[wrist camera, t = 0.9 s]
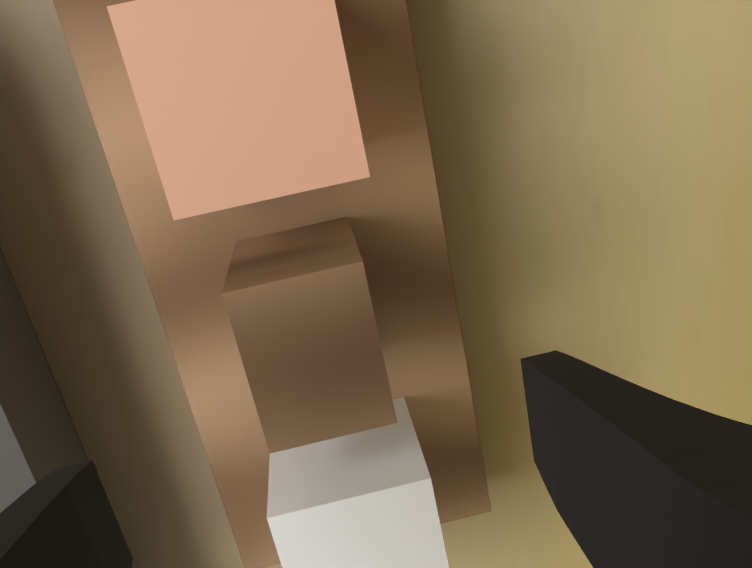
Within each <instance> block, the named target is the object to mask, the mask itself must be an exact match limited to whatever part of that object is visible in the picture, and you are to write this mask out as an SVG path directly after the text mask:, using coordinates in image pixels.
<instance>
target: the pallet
mask: <svg viewBox="0 0 752 568" xmlns="http://www.w3.org/2000/svg"><path fill="white" fill-rule="evenodd" d="M130 1H135V0H53V2H54V5H55V8H56V11H57V14H58V17H59V20H60V23H61V26H62V29H63V32H64V35H65V37H66V40H67V43H68V46H69V49H70V52H71V55H72V58H73V61H74V64H75V67H76V70H77V73H78V76H79V79H80V82H81V85H82V88H83V91H84V94H85V97H86V100H87V103H88V106H89V108H90V111H91V114H92V117H93V120H94V123H95V126H96V129H97V132H98V135H99V138H100V141H101V144H102V147H103V150H104V153H105V156H106V159H107V162H108V165H109V168H110V171H111V174H112V176H113V179H114V182H115V185H116V188H117V191H118V194H119V197H120V200H121V203H122V206H123V209H124V212H125V215H126V218H127V221H128V224H129V227H130V230H131V233H132V236H133V239H134V242H135V245H136V247H137V250H138V253H139V256H140V259H141V262H142V265H143V268H144V271H145V274H146V277H147V280H148V283H149V286H150V289H151V292H152V295H153V298H154V301H155V304H156V307H157V310H158V313H159V315H160V318H161V321H162V324H163V327H164V330H165V333H166V336H167V339H168V342H169V345H170V348H171V351H172V354H173V357H174V360H175V363H176V366H177V369H178V372H179V375H180V378H181V381H182V384H183V386H184V389H185V392H186V395H187V398H188V401H189V404H190V407H191V410H192V413H193V416H194V419H195V422H196V425H197V428H198V431H199V434H200V437H201V440H202V443H203V446H204V449H205V452H206V454H207V457H208V460H209V463H210V466H211V469H212V472H213V475H214V478H215V481H216V484H217V487H218V490H219V493H220V496H221V499H222V502H223V505H224V508H225V511H226V514H227V517H228V520H229V523H230V525H231V528H232V531H233V534H234V537H235V540H236V543H237V546H238V549H239V552H240V555H241V558H242V561H243V564H244V567H245V568H264V567H268V566H272V565H276V564H280V563H281V562H280V559H279V556H278V553H277V549H276V546H275V543H274V540H273V537H272V533H271V530H270V527H269V524H268V521H267V503H268V480H269V457H270V454H271V453H275V452H279V451H283V450H287V449H291V448H296V447H300V446H304V445H308V444H312V443H316V442H320V441H325V440H329V439H333V438H337V437H341V436H345V435H350V434H354V433H358V432H362V431H366V430H370V429H375V428H379V427H383V426H387V425H391V424H395V423H398V422H397V418H396V413H395V408H394V404H393V399H397V398H401V397H404V399H405V402H406V405H407V408H408V411H409V414H410V417H411V420H412V423H413V426H414V429H415V432H416V435H417V438H418V441H419V444H420V447H421V450H422V453H423V456H424V459H425V462H426V465H427V468H428V471H429V474H430V477H431V481H432V486H433V491H434V496H435V501H436V506H437V511H438V516H439V521H440V524H441V523H445V522H449V521H453V520H457V519H461V518H465V517H469V516H473V515H477V514H481V513H485V512H489V511H491V507H490V501H489V495H488V489H487V484H486V478H485V472H484V466H483V460H482V454H481V448H480V442H479V436H478V430H477V424H476V418H475V412H474V406H473V400H472V394H471V388H470V382H469V376H468V370H467V364H466V358H465V352H464V346H463V340H462V334H461V328H460V322H459V316H458V310H457V304H456V298H455V292H454V286H453V280H452V274H451V268H450V262H449V256H448V250H447V244H446V238H445V232H444V226H443V220H442V214H441V208H440V202H439V196H438V190H437V184H436V178H435V172H434V166H433V160H432V154H431V148H430V142H429V136H428V130H427V124H426V118H425V112H424V106H423V101H422V95H421V89H420V83H419V77H418V71H417V65H416V59H415V53H414V47H413V41H412V35H411V29H410V23H409V17H408V11H407V5H406V0H335V5H336V10H337V15H338V20H339V25H340V30H341V35H342V40H343V45H344V50H345V55H346V60H347V65H348V69H349V74H350V79H351V84H352V89H353V94H354V99H355V104H356V109H357V114H358V119H359V124H360V129H361V134H362V139H363V144H364V149H365V154H366V159H367V164H368V169H369V174H370V177H368V178H363V179H359V180H354V181H350V182H345V183H341V184H336V185H332V186H327V187H323V188H318V189H314V190H309V191H305V192H300V193H296V194H291V195H287V196H282V197H278V198H273V199H269V200H264V201H259V202H255V203H250V204H246V205H241V206H237V207H232V208H228V209H223V210H219V211H214V212H210V213H205V214H201V215H196V216H192V217H187V218H183V219H178V220H173V217H172V214H171V211H170V207H169V204H168V201H167V198H166V195H165V192H164V188H163V185H162V182H161V179H160V176H159V172H158V169H157V166H156V163H155V160H154V156H153V153H152V150H151V147H150V144H149V140H148V137H147V134H146V131H145V128H144V124H143V121H142V118H141V115H140V112H139V108H138V105H137V102H136V99H135V96H134V92H133V89H132V86H131V83H130V80H129V76H128V73H127V70H126V67H125V64H124V60H123V57H122V54H121V51H120V48H119V44H118V41H117V38H116V35H115V32H114V28H113V25H112V22H111V19H110V16H109V12H108V9H107V6H111V5H116V4H121V3H125V2H130Z"/></svg>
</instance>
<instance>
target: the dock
mask: <svg viewBox="0 0 752 568" xmlns="http://www.w3.org/2000/svg"><path fill="white" fill-rule="evenodd" d="M84 462H88V460H87V457H86V455H85V453H84V450H83V448H82V445H81V443H80V440H79V438H78V436H77V433H76V431H75V428H74V426H73V424H72V421H71V419H70V416H69V414H68V411H67V409H66V407H65V404H64V402H63V399H62V397H61V394H60V392H59V390H58V387H57V385H56V382H55V380H54V378H53V375H52V373H51V370H50V368H49V365H48V363H47V361H46V358H45V356H44V353H43V351H42V348H41V346H40V344H39V341H38V339H37V336H36V334H35V332H34V329H33V327H32V324H31V322H30V319H29V317H28V315H27V312H26V310H25V307H24V305H23V302H22V300H21V298H20V295H19V293H18V290H17V288H16V286H15V283H14V281H13V278H12V276H11V273H10V271H9V269H8V266H7V264H6V261H5V259H4V256H3V254H2V252H1V249H0V513H1V512H2V511H3V510H5V509H6V508H7V507H8V506H9V505H10V504H12V503H13V502H14V501H15V500H16V499H17V498H19V497H20V496H21V495H22V494H23V493H24V492H26V491H27V490H28V489H29V488H30V487H32V486H33V485H34V484H35V483H37V482H38V481H39V480H41V479H42V478H43V477H45V476H46V475H47V474H49V473H50V472H52V471H53V470H55V469H58V468H63V467H67V466H71V465H75V464H80V463H84Z"/></svg>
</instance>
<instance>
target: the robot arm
mask: <svg viewBox="0 0 752 568" xmlns="http://www.w3.org/2000/svg"><path fill="white" fill-rule="evenodd" d="M521 366H522V373H523V381H524V388H525V396H526V403H527V411H528V418H529V425H530V433H531V440H532V448H533V455H534V461H535V463H536V466H537V468H538V470H539V472H540V474H541V477H542V479H543V481H544V483H545V485H546V488H547V490H548V492H549V494H550V496H551V498H552V500H553V502H554V504H555V506H556V509H557V511H558V512H559V514H560V515H561V517H562V519H563V520H564V522H565V524H566V525H567V527H568V528H569V530H570V531H571V533H572V535H573V536H574V538H575V539H576V541H577V543H578V544H579V546H580V547H581V549H582V550H583V552H584V554H585V555H586V557H587V558H588V560H589V561H590V563H591V565H592V566H593V568H752V425H749V424H745V423H742V422H738V421H734V420H731V419H728V418H725V417H722V416H718V415H715V414H712V413H709V412H707V411H704V410H701V409H698V408H695V407H692V406H690V405H687V404H684V403H681V402H678V401H676V400H673V399H670V398H668V397H665V396H663V395H660V394H658V393H655V392H653V391H650V390H648V389H645V388H643V387H640V386H638V385H636V384H633V383H631V382H629V381H626V380H624V379H622V378H619V377H617V376H615V375H612V374H610V373H608V372H606V371H603V370H601V369H599V368H597V367H594V366H592V365H590V364H588V363H585V362H583V361H581V360H579V359H576V358H574V357H572V356H569V355H567V354H564V353H561V352H559V351H552V352H548V353H543V354H539V355H535V356H531V357H526V358H522V359H521ZM132 560H133V558H132V556H131V554H130V551H129V549H128V546H127V544H126V541H125V539H124V537H123V534H122V532H121V529H120V527H119V524H118V522H117V520H116V517H115V515H114V512H113V510H112V507H111V505H110V503H109V500H108V498H107V495H106V493H105V490H104V488H103V486H102V483H101V481H100V478H99V476H98V473H97V471H96V469H95V466H94V464H93V461H88V462H84V463H80V464H75V465H71V466H67V467H63V468H58V469H55V470H53V471H52V472H50V473H49V474H47V475H46V476H45V477H43V478H42V479H41V480H39V481H38V482H37V483H35V484H34V485H33V486H32V487H30V488H29V489H28V490H27V491H26V492H24V493H23V494H22V495H21V496H20V497H19V498H17V499H16V500H15V501H14V502H13V503H12V504H10V505H9V506H8V507H7V508H6V509H5V510H3V511H2V512H1V513H0V568H132Z"/></svg>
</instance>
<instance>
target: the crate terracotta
mask: <svg viewBox="0 0 752 568" xmlns="http://www.w3.org/2000/svg"><path fill="white" fill-rule="evenodd" d="M107 9H108V12H109V16H110V19H111V22H112V25H113V28H114V32H115V35H116V38H117V41H118V44H119V48H120V51H121V54H122V57H123V60H124V64H125V67H126V70H127V73H128V76H129V80H130V83H131V86H132V89H133V92H134V96H135V99H136V102H137V105H138V108H139V112H140V115H141V118H142V121H143V124H144V128H145V131H146V134H147V137H148V140H149V144H150V147H151V150H152V153H153V156H154V160H155V163H156V166H157V169H158V172H159V176H160V179H161V182H162V185H163V188H164V192H165V195H166V198H167V201H168V204H169V207H170V211H171V214H172V217H173V220H178V219H183V218H187V217H192V216H196V215H201V214H205V213H210V212H214V211H219V210H223V209H228V208H232V207H237V206H241V205H246V204H250V203H255V202H259V201H264V200H269V199H273V198H278V197H282V196H287V195H291V194H296V193H300V192H305V191H309V190H314V189H318V188H323V187H327V186H332V185H336V184H341V183H345V182H350V181H354V180H359V179H363V178H368V177H370V174H369V169H368V164H367V159H366V154H365V149H364V144H363V139H362V134H361V129H360V124H359V119H358V114H357V109H356V104H355V99H354V94H353V89H352V84H351V79H350V74H349V69H348V65H347V60H346V55H345V50H344V45H343V40H342V35H341V30H340V25H339V20H338V15H337V10H336V5H335V0H135V1H130V2H125V3H121V4H116V5H111V6H107Z"/></svg>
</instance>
